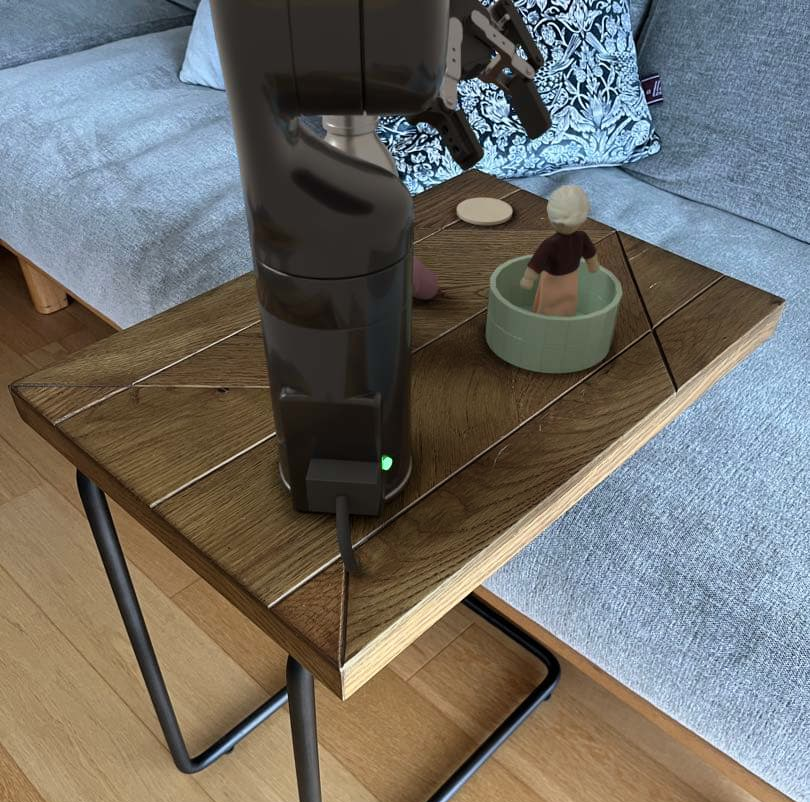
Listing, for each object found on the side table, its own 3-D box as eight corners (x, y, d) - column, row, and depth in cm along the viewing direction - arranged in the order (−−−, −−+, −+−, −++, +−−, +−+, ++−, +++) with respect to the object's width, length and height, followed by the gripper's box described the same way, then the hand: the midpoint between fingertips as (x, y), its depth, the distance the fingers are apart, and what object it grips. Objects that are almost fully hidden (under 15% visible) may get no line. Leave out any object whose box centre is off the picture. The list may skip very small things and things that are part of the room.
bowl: (616, 377, 67) (628, 323, 63) (484, 369, 67) (489, 315, 64) (605, 308, 74) (615, 256, 71) (486, 302, 75) (491, 250, 71)
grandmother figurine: (560, 310, 73) (584, 166, 64) (593, 328, 71) (622, 181, 62) (501, 341, 70) (516, 193, 61) (534, 360, 68) (555, 210, 59)
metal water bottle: (304, 348, 69) (280, 92, 55) (370, 324, 72) (363, 74, 58) (346, 385, 66) (332, 121, 51) (413, 357, 68) (418, 100, 54)
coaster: (512, 226, 85) (512, 223, 85) (455, 224, 86) (455, 220, 85) (512, 202, 90) (512, 198, 89) (457, 199, 90) (457, 196, 90)
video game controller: (332, 301, 78) (309, 252, 71) (353, 262, 79) (332, 211, 72) (424, 327, 74) (409, 279, 68) (445, 287, 75) (432, 236, 69)
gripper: (358, -81, 54) (481, 148, 56) (493, -107, 61) (596, 97, 64) (310, -1, 60) (422, 201, 63) (438, -33, 67) (533, 149, 70)
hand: (509, 148), depth 63 cm, fingers open, 8 cm apart
